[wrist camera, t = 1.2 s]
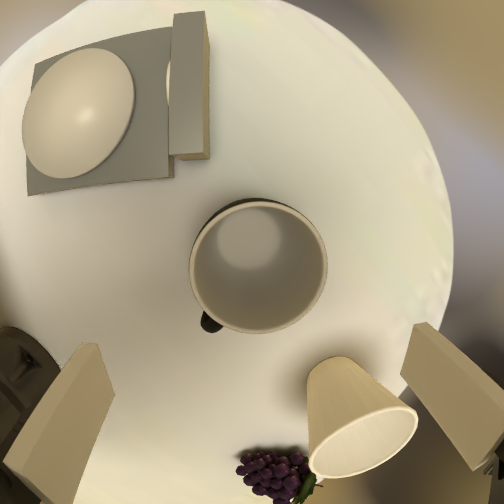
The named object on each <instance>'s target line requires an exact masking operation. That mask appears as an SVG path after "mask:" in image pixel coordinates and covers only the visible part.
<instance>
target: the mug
mask: <svg viewBox="0 0 504 504" xmlns="http://www.w3.org/2000/svg"><path fill="white" fill-rule="evenodd" d="M327 269H328V262H327V254H326V249H325V246H324V243H323V241H322V238H321V236H320V235H319V233H318V231H317V230H316V228H315V227H314V226H313V224H312V223H311V222H310V221H309V220H308V219H307V218H306V217H305V216H303V215H302V214H301V213H300V212H298V211H297V210H295V209H293V208H292V207H290V206H288V205H285V204H283V203H280V202H277V201H273V200H269V199H263V198H248V199H242V200H238V201H235V202H233V203H230V204H228V205H226V206H225V207H223V208H221V209H220V210H219V211H217V212H216V213H215V214H214V215H213V216H212V217H211V218H210V219H209V220H208V221H207V222H206V224H205V225H204V226H203V228H202V229H201V230H200V232H199V234H198V236H197V238H196V240H195V242H194V245H193V247H192V251H191V254H190V260H189V277H190V283H191V287H192V290H193V293H194V295H195V298H196V300H197V301H198V303H199V305H200V306H201V307H202V309H203V310H204V311H203V314H202V318H201V327H202V328H203V329H204V330H205V331H206V332H209V333H215V332H218V331H219V330H220V329H221V328H223V327H224V326H225V327H227V328H229V329H232V330H234V331H238V332H242V333H249V334H263V333H270V332H274V331H278V330H281V329H283V328H286V327H288V326H290V325H292V324H294V323H295V322H297V321H298V320H300V319H301V318H302V317H303V316H304V315H306V314H307V313H308V312H309V311H310V310H311V308H312V307H313V306H314V305H315V303H316V302H317V300H318V298H319V297H320V295H321V293H322V290H323V288H324V285H325V282H326V277H327Z"/></svg>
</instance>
